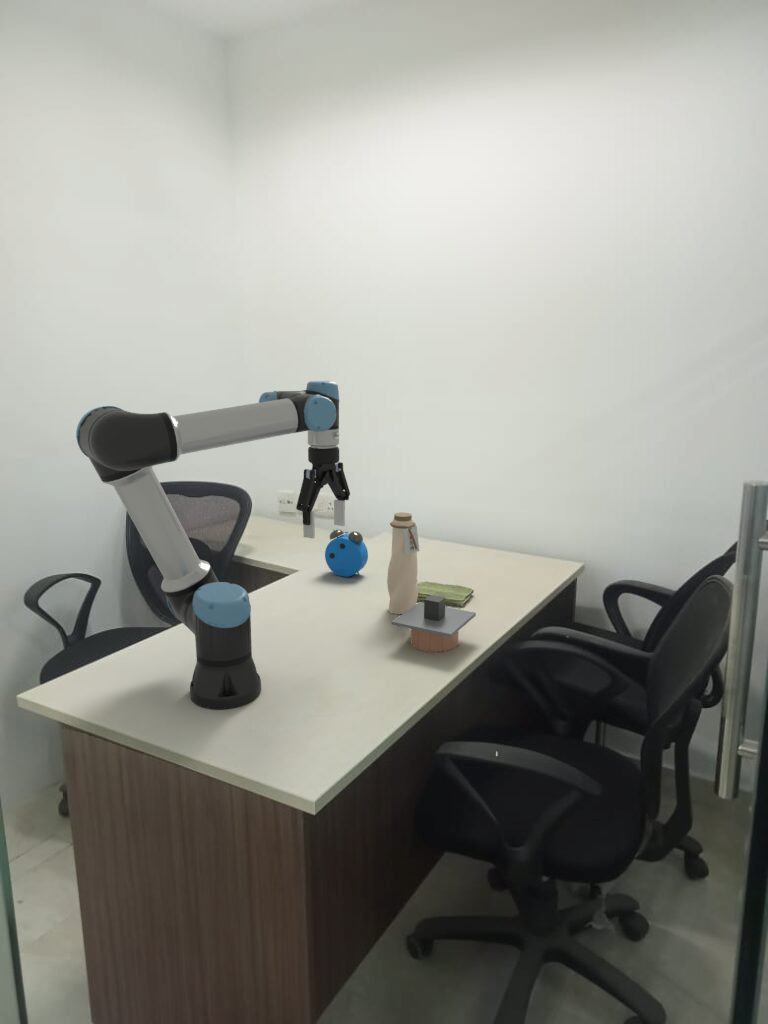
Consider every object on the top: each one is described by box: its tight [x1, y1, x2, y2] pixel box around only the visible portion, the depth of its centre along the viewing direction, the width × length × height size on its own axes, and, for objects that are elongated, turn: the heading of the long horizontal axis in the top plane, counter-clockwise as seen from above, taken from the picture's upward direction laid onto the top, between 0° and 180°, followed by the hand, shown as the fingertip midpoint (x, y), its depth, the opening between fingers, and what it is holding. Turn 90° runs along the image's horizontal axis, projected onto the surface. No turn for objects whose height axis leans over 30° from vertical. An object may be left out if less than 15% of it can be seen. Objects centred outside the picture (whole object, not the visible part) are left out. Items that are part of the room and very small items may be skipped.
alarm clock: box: [324, 529, 369, 578], centre depth 235 cm, size 13×6×15 cm, turn 68°
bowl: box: [410, 629, 459, 653], centre depth 183 cm, size 12×12×6 cm
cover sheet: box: [391, 595, 477, 637], centre depth 182 cm, size 16×16×6 cm
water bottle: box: [386, 512, 420, 615], centre depth 202 cm, size 10×9×28 cm
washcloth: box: [417, 581, 474, 607], centre depth 216 cm, size 13×18×3 cm
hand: (324, 531), depth 179 cm, fingers open, 13 cm apart
